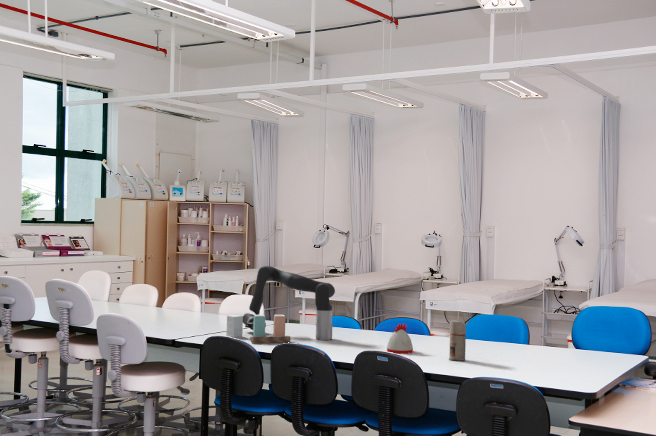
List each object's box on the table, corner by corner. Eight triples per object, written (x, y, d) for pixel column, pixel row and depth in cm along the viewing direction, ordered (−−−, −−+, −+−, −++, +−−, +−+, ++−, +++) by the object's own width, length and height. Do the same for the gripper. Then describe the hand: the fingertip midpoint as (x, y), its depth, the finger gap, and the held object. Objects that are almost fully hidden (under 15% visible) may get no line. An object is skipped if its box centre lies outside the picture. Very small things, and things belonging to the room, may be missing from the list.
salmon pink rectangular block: (283, 339, 377) (284, 314, 378) (284, 341, 372) (285, 315, 373) (273, 339, 376) (273, 314, 376) (274, 341, 371) (275, 315, 372)
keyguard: (285, 340, 380) (285, 332, 380) (290, 344, 366) (290, 336, 366) (249, 341, 375) (249, 333, 375) (252, 345, 361) (252, 336, 361)
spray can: (447, 358, 336) (447, 319, 336) (462, 358, 336) (463, 319, 337) (451, 361, 327) (452, 321, 328) (467, 361, 328) (468, 321, 328)
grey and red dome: (418, 352, 350) (418, 324, 351) (397, 354, 344) (397, 325, 344) (402, 348, 362) (403, 321, 363) (382, 350, 356) (382, 322, 356)
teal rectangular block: (263, 339, 375) (264, 314, 375) (264, 341, 370) (265, 315, 370) (253, 340, 373) (253, 314, 374) (254, 341, 368) (254, 315, 369)
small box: (242, 338, 385) (243, 316, 386) (233, 339, 381) (233, 316, 382) (235, 336, 391) (235, 314, 392) (226, 337, 387) (226, 315, 388)
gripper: (243, 317, 396) (246, 320, 379) (264, 316, 399) (268, 320, 382) (242, 329, 395) (245, 333, 378) (264, 329, 398) (268, 333, 381)
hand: (257, 327), depth 380 cm, fingers closed
